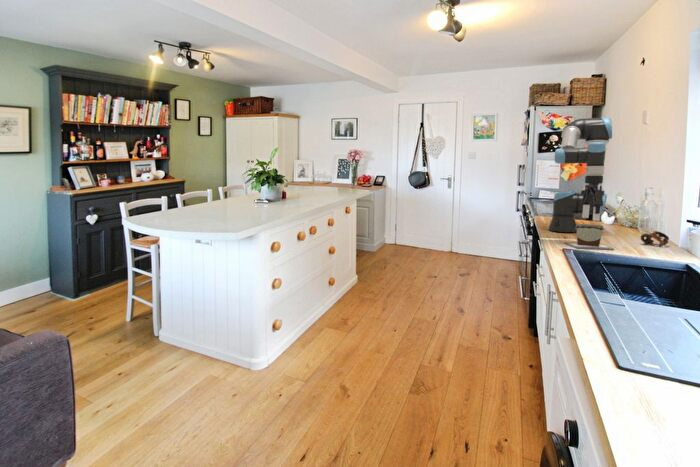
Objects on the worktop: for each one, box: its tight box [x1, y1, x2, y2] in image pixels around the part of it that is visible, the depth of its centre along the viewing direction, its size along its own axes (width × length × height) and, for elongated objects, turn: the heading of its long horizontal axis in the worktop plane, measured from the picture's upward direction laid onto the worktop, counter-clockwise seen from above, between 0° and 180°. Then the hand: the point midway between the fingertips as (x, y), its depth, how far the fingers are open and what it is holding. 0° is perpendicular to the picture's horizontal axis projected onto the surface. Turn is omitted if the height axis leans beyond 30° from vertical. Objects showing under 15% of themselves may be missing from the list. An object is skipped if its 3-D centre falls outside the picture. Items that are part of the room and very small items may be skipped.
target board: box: [564, 242, 615, 251], centre depth 210 cm, size 18×16×1 cm
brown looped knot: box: [640, 230, 670, 248], centre depth 217 cm, size 12×9×8 cm
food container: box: [575, 223, 605, 247], centre depth 209 cm, size 12×6×10 cm, turn 54°
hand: (590, 219), depth 208 cm, fingers open, 13 cm apart
